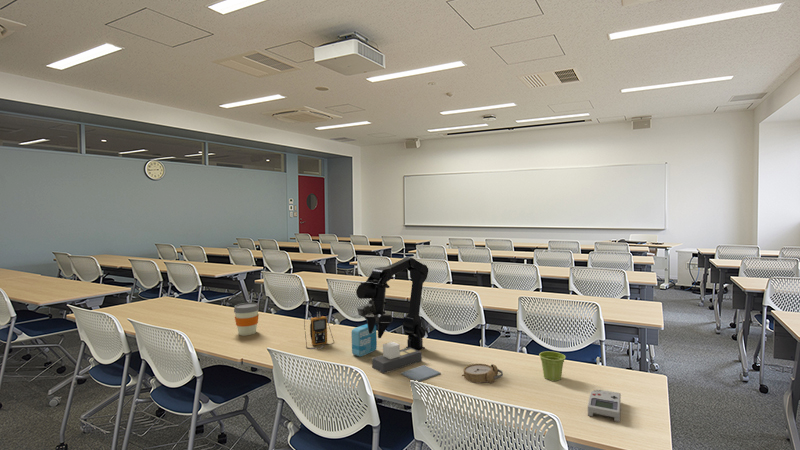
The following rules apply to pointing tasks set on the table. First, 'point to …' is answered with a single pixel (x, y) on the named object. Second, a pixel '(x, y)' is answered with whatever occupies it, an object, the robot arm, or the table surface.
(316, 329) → the multimeter
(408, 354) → the block
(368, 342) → the data package
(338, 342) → the table surface
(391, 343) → the plug
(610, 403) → the handheld gaming device
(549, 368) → the plant pot
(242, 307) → the reusable coffee cup
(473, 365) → the alarm clock
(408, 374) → the mat
